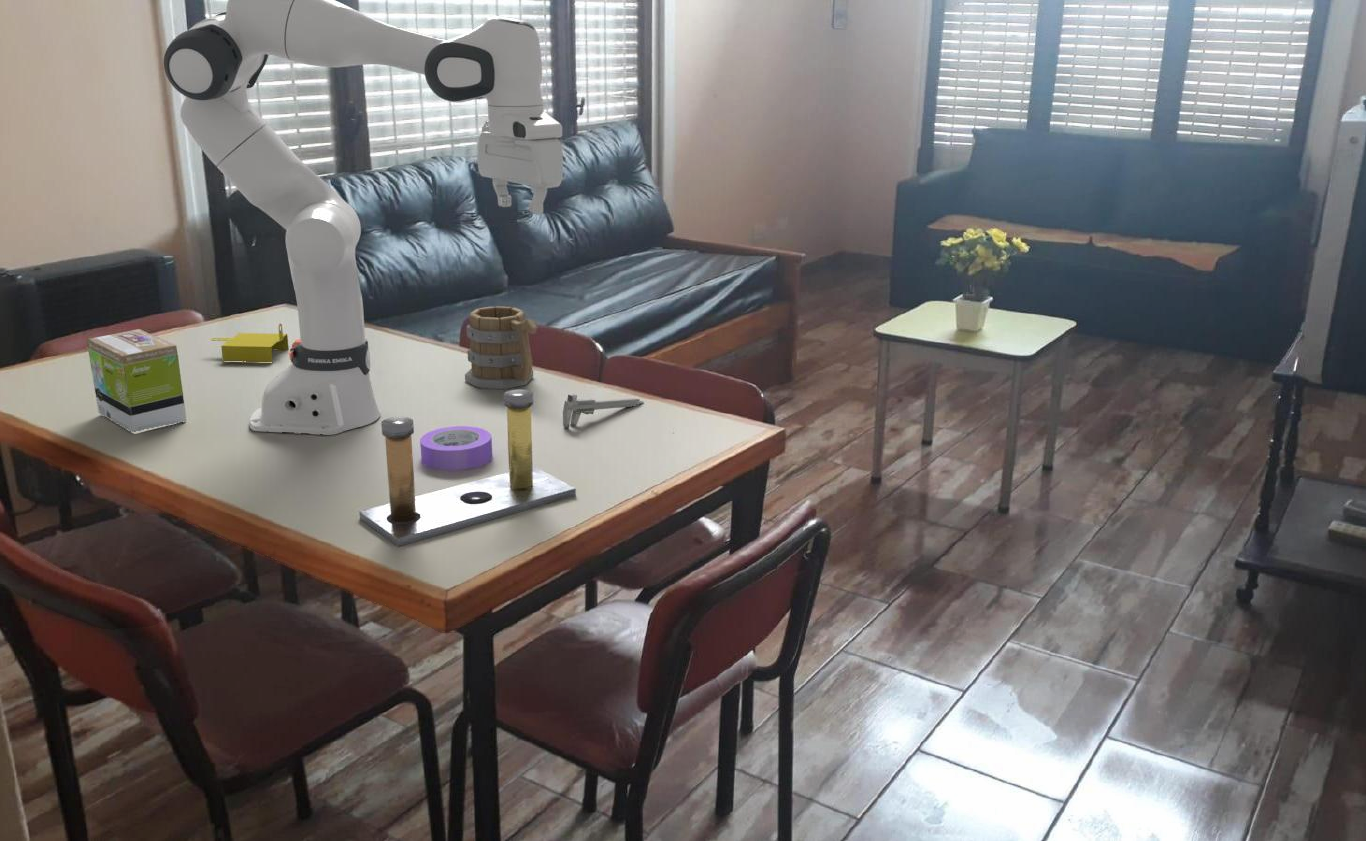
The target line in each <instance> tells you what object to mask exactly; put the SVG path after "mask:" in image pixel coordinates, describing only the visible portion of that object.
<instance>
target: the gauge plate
mask: <svg viewBox="0 0 1366 841" xmlns="http://www.w3.org/2000/svg"><path fill="white" fill-rule="evenodd" d="M576 491H577V490H576V487H574V486H572V485H570V484H568V483H566V482H565V481H563V480H560V479H558V478H557V477H555V476H553V475H551V474H549V473H547V472H545V471H543V470H542V469H540V468H538V467H536V466H534V465H533V485H532V486H530V487H527V488H514V487H511V486H510V483H509V471H508V472H503V473H500V474H496V475H493V476H490V477H489V476H488V477H486V478H481V479H478V480H473V481H470V482H466V483H462V484H458V485H456V486H451V487H447V488H444V489H439V490H436V491H432V492H427V493H424V494H421V495H415V502H416V518H415V519H414V520H412V521H409V522H395V521H393V520H391V512H390V502H389V503H386V504H383V505H382V504H381V505H379V506H374V507H371V508H368V509H363V510H359V511H358V512H359V520H361V521H362V522H364V523H365V525H368V526H370V528H372V529H373V530H375V532H377V533H379V534H380V535H382V536H383V537H385V539H387V540H389V541H390V542H392V543H393V544H394V545H396V546H397V547H401V546H404V545H408V544H412V543H416V542H419V541H422V540H425V539H428V538H433V537H435V536H440V535H443V534H447V533H450V532H455V531H457V530H461V529H464V528H468V527H472V526H474V525H478V524H481V523H484V522H488V521H492V520H495V519H499V518H502V517H506V516H509V515H512V514H516V513H519V512H522V511H526V510H531V509H533V508H537V507H540V506H544V505H548V504H552V503H554V502H558V501H562V500H565V499H569V498H571V497H572V498H573V497H574V496H577V495H576Z"/></svg>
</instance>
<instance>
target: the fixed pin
mask: <svg viewBox="0 0 1366 841" xmlns="http://www.w3.org/2000/svg"><path fill="white" fill-rule="evenodd" d="M414 424H415V423H414V419H413V418H410V417H407V416H394V417H393V416H392V417H389V418H386V419H383V420H382V421H381V423H380V426H381V435H382V436H383V437H384V439H385V453H386V454H385V455H386V466H387V483H388V484H387V485H388V496H389V497H388V498H389V503H390V512H391V520H393V521H395V522H409V521H412V520H414V519H415V518H416V502H415V497H416V492H415V491H416V487H415V475H414V474H415V473H414V472H415V471H414V470H415V469H414V457H413V454H414V453H413V444H412V443H413V442H412V440H413V439H412V435H413V434H414V433H415V429H414V428H415V425H414Z"/></svg>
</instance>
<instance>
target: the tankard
mask: <svg viewBox="0 0 1366 841" xmlns="http://www.w3.org/2000/svg"><path fill="white" fill-rule="evenodd" d="M468 316H469V318H468V319H469V324H468V325H466V338H468V339H470V341H469V342H470V348H468V349H467V351H466V352H467V361H468V362H470V363H471V368H470V369H469V370H468V371H467V372H466V373H465V374H464V381H465V382H466V383H468V384H470V385H472V386H473V387H475V388H478V389H485V390H486V389H487V390H488V389H489V390H506V389H512V388H517V387H522V386H523V387H524V386H526V385H527V384H529V382H530V381H531V380H532V379H534V370H533V356H532V352H531V347H530V341H529V340H530V339H529V334H530V335H534V334H536V333H537V330H538V327H537V325H536V324H535V322H534V321H533V319H532V318H525V317H526V315H525V311H524V310H522V309H519V308H517V307H514V306H500V305H499V306H498V305H496V306H495V307H494V305H493V306H488V307H487V306H486V307H485V306H484V307H481V308H475V309H474V310H473V311H471V312H470V313H469V315H468Z"/></svg>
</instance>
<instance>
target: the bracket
mask: <svg viewBox="0 0 1366 841" xmlns="http://www.w3.org/2000/svg"><path fill="white" fill-rule="evenodd" d="M288 337H289V336H288V334H287V333H283V325H282V323H279V324H278V333H262V332H261V333H260V332H259V333H257V332H255V333H254V332H239V333H237V334H236V335H235V336H233V337H212V338H210V341H212V342H213V341H216V342H218V341H220V342H225V341H226V342H225V343H223V344H222V345H221V346H220V348H221V354H222V356H221V358H222V362H223V361H243V362H244V361H246V362H272V363H273V353H272V352H273V351H272V350H271V349H277V351H290V349H289V340H288V339H289V338H288Z"/></svg>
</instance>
